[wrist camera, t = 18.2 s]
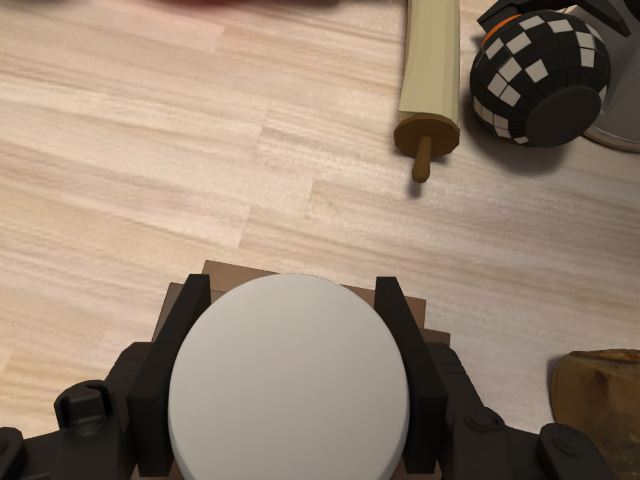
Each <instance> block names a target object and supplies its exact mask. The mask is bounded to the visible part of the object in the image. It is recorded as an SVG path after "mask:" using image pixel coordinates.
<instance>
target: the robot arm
mask: <svg viewBox="0 0 640 480" xmlns="http://www.w3.org/2000/svg"><path fill="white" fill-rule="evenodd" d="M608 1H609V2H610V3H611V4H612V5H613V6H614V8H615V9H616V10H617V11H618V12H619V14H620V15H621V16H622V17H623V19H624V21H625V23H626V24H627V26H628V28H629V30H630V32H631V35H630V36H628V37H627V38H625V37H624V36H622V35H621V34H619V33H618V32H616V31H615V30H613V29H612V28H610V27H609V26H607V25H606V24H604V23H603V22H601V21H600V20H598V19H597V18H595V17H594V16H592V15H591V14H589V13H588V12H586V11H585V10H583V9H582V8H580V7H579V6H577V7H575V8H574V9H573V10H572V11H571V12H569V13H567V14H571V15H574V16H576V17H577V18H579V19H581V20H582V21H584V22H585V23H587V24H588V25H589V26H591V27H592V28H593V29H595V30H596V31H597V32H598V34H599V35H600V37H601V39H602V40H603V42H604V44H605V46H606V48H607V51H608V53H609V56H610V63H611V82H610V86H609V89H608V92H607V96H606V98H605V100H604V103H603V105H602V107H601V110H600V113H599V115H598V117H597V118H596V120H595V121H594V123H593V124H592V125H591V126H590V127H589V128H588V129H587V130H586V131H585V132H584V133H582V134H583V135H585V136H587V137H589V138H590V139H592V140H595V141H597V142H599V143H601V144H604V145H607V146H610V147H613V148H616V149H621V150H625V151H632V152H640V0H608ZM567 8H568V7H567ZM567 8H566V9H565V10H564V11H563V12H562V13H564V12H565V11H566V10H567ZM211 305H212V304H211V289H210V274H189V276H188V278H187V280H186V282H185V284H184V286H183V287H182V289H181V291H180V293H179V295H178V297H177V299H176V301H175V303H174V305H173V307H172V309H171V311H170V313H169V315H168V316H167V318H166V320H165V322H164V324H163V326H162V328H161V330H160V332H159V334H158V336H157V338H156V340H155V342H134V343H133V344H131V345H130V346H129V347H128V348H126V349H125V350H124V351H122V353H121V354H120V356H119V358H118V359H117V361H116V362H115V366H113V367H112V369H111V371H110V372H109V375H108V376H107V377H106V379H105V380H104V381H103V380H88V381H84V382H81V383H78V384H75V385H73V386H72V387H70V388H68V389H66V390H65V391H64V392H63V393H61V394H60V395H59V396H58V397H57V399H56V401H55V403H54V409H55V413H56V417H57V421H58V425H59V428H60V430H58V431H55V432H52V433H49V434H45V435H41V436H37V437H32V438H28V439H23V436H22V433H21V431H19V430H18V429H16V428H12V427H2V428H0V480H131V476H132V474H133V472H134V469H135V467H136V464H137V466H138V472H139V477H168V476H169V473H170V470H171V467H172V464H173V461H174V457H175V456H174V453H173V449H172V445H171V440H170V435H169V427H168V400H169V390H170V381H171V376H172V372H173V368H174V363H175V361H176V358H177V355H178V352H179V350H180V348H181V346H182V344H183V342H184V340H185V338H186V336H187V335H188V333H189V331H190V330H191V328H192V327H193V325H194V324H195V322H196V321H197V320H198V319H199V317H200V316H201V315H202V314H203V313H204V312H205V311H206V310H207V309H208V308H209V307H210V306H211ZM373 309H374V311H375V312H376V313H377V314H378V315H379V316H380V317H381V319H382V320H383V322H384V323H385V325H386V326H387V327H388V329H389V331H390V333H391V334H392V336H393V338H394V340H395V343H396V345H397V347H398V349H399V352H400V355H401V358H402V362H403V365H404V369H405V372H406V376H407V381H408V387H409V395H410V419H409V427H408V433H407V437H406V442H405V446H404V449H403V452H402V457H403V461H404V465H405V468H406V472H407V474H434V471H435V466H436V461H438V464H439V467H440V470H441V472H442V476H441V480H619V479H618V478H617V476H616V475H615V473H614V472H613V470H612V469H611V467H610V466H609V464H608V463H607V461H606V460H605V458H604V457H603V455H602V454H601V452H600V451H599V449H598V448H597V446H596V445H595V444H594V443H593V442H592V440H591V439H590V438H589V437H588V436H586V435H585V434H584V433H582V432H581V431H579V430H578V429H575V428H573V427H571V426H568V425H565V424H560V423H549V424H546V425H545V426H543V427H542V428H541V431H540V434H539V435H538V434H534V433H530V432H526V431H522V430H518V429H514V428H511V427H509V426H507V425H505V423H504V420H503V419H502V418H501V417H500V416H499V415H498V414H497V413H496V412H494V411H493V410H491V409H490V408H488V407H485V406H484V405H483V403H482V401H481V399H480V397H479V396H478V394H477V392H476V390H475V388H474V386H473V384H472V382H471V381H470V379H469V377H468V375H467V374H466V371H465V369H464V367H463V366H462V365H461V362H460V360H459V358H458V356H457V354H456V352H455V351H453V350H452V349H451V348H450V347H449V346H448V345H446V344H445V343H428V342H424V339H423V337H422V335H421V333H420V330H419V328H418V326H417V324H416V321H415V319H414V317H413V315H412V312H411V310H410V308H409V306H408V303H407V301H406V299H405V297H404V294H403V292H402V290H401V288H400V285H399V283H398V281H397V279H396V277H377V278H376V288H375V298H374V308H373Z"/></svg>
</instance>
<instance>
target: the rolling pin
mask: <svg viewBox="0 0 640 480" xmlns="http://www.w3.org/2000/svg"><path fill="white" fill-rule="evenodd" d="M459 84H460V10H459V0H408V17H407V37H406V52H405V67H404V79H403V87H402V92H401V97H400V102H399V107H398V111H399V112H400V118H399V125H398V126H397V128H396V129H395V130H394V140H395V145H396V146H397V147H398V148H399V149H400V150H401V151H402V152H403V153H405V154H408V155H411V156H414V157H416V160H415V164H414V167H413V170H412V178H413V181H415V182H416V183H424V182H426V181H427V179H428V178H429V175H430V158H437V157H440V156H443V155H446V154H449V153H451V152H452V151H453V150H454V149H455V148H456V147H457V146H458V145H459V137H460V129H459V128H458V110H459Z"/></svg>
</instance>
